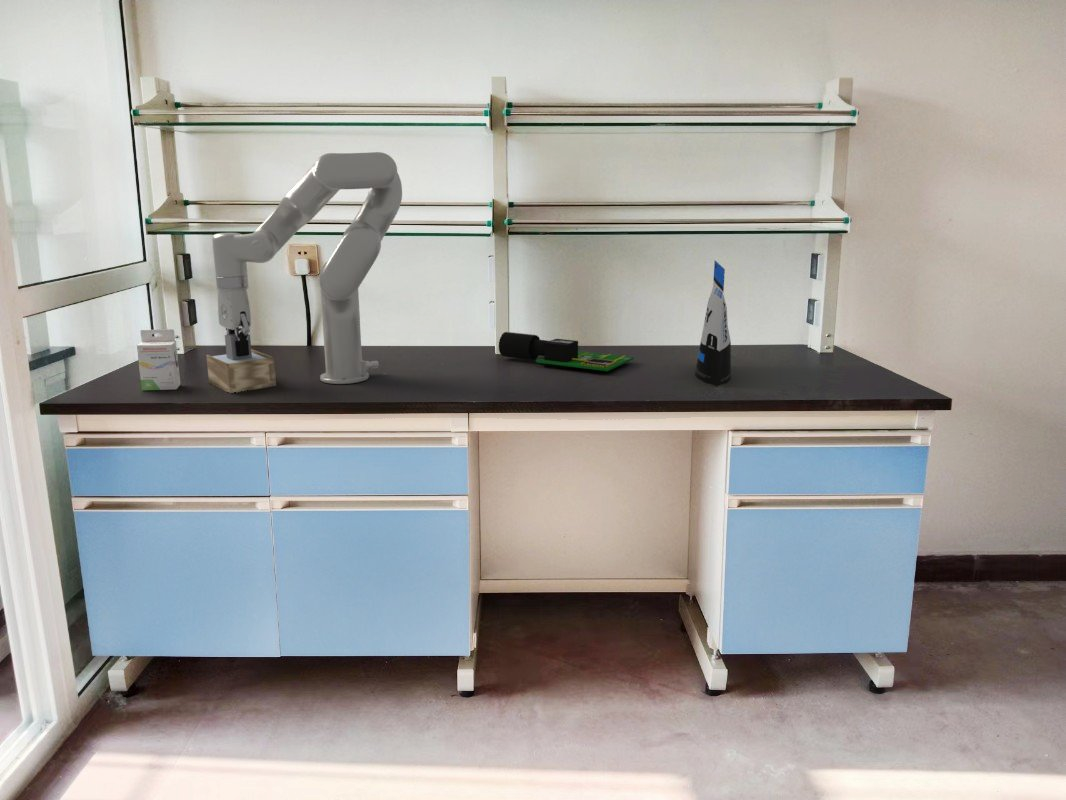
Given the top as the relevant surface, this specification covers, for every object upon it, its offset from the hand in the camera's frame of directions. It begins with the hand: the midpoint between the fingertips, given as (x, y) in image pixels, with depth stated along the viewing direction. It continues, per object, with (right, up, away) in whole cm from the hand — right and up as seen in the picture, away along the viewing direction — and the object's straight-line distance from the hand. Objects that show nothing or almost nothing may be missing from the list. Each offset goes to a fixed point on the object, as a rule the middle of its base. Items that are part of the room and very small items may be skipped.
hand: (239, 353), depth 212 cm
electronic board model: (+85, -1, +27) cm, 89 cm away
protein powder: (+124, -6, +11) cm, 125 cm away
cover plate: (0, -2, +1) cm, 2 cm away
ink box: (-19, -9, -2) cm, 21 cm away
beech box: (0, -8, +2) cm, 8 cm away
